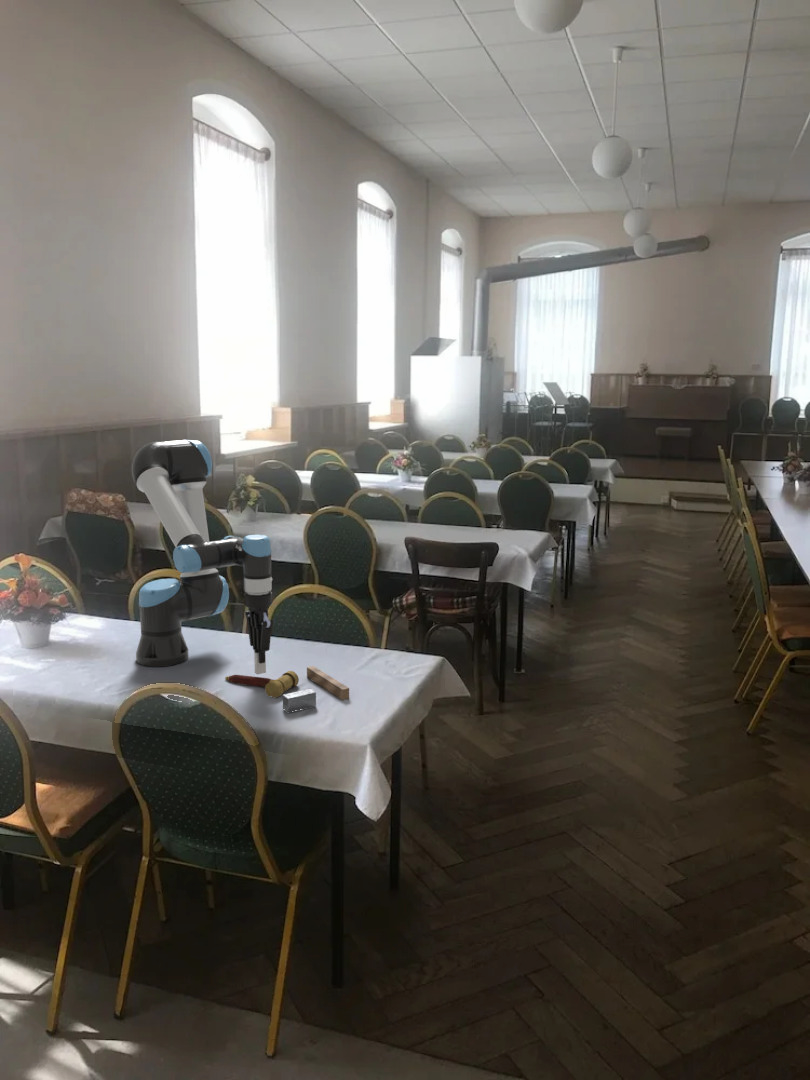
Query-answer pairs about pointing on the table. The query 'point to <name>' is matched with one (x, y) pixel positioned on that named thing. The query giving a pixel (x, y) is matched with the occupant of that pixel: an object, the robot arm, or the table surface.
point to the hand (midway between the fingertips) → (260, 672)
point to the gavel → (268, 682)
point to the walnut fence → (328, 683)
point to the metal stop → (299, 700)
